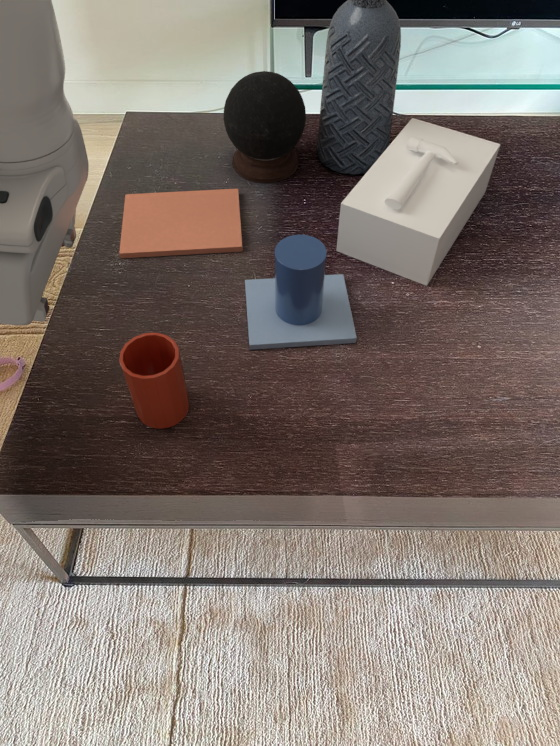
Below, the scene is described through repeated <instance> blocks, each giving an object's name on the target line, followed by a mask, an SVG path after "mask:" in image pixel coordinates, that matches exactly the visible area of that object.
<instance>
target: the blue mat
mask: <svg viewBox="0 0 560 746" xmlns="http://www.w3.org/2000/svg"><path fill="white" fill-rule="evenodd" d="M244 289H245V303H246V304H245V305H246V317H247V329H248V345H249V350H250V351H253V350H254V351H255V350H269V349H284V348H285V349H286V348H296V347H297V348H298V347H315V346H328V345H329V346H331V345H343V344H344V345H345V344H356V343H357V341H358V336H357V333H356V328H355V324H354V318H353V314H352V309H351V305H350V300H349V294H348V290H347V285H346V280H345V275H344V273H338V274H325V281H324V293H323V306H322V313H321V315H320V316H319V318H318V319H316V320H315V321H314V322H312V323H309V324H306V325H292V324H289V323H286V322H284V321H283V320H281V319H280V318H279V317H278V315H277V314H276V311H275V277H273V278H270V277H269V278H254V279H244Z"/></svg>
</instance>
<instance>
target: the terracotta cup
mask: <svg viewBox="0 0 560 746" xmlns="http://www.w3.org/2000/svg"><path fill="white" fill-rule="evenodd" d="M118 362H119V366H120V369H121V371H122V374H123V377H124V380H125V383H126V387H127V389H128V392H129V396H130V399H131V402H132V405H133V408H134V410H135V412H136V415H137V418H138V419H139V421H140V422H141V423H142V424H143V425H145V426H146V427H149V428H152V429H157V430H158V429H159V430H161V429H168V428H171V427H174V426H176V425H178V424H179V423H180V422H182V421H183V420H184V419H185V417H186V416H187V414H188V412H189V410H190V396H189V392H188V387H187V381H186V376H185V371H184V368H183V362H182V357H181V352H180V348H179V346H178V344H177V343H176V340H174V339H173V338H171V337H170V336H169V335H167V334H164V333H160V332H145V333H141V334H139V335H136V336H133V337H132V338H130V339H129V340H128V341H127V342H126V343H125V344H123V347H122V349H121V350H120V352H119V359H118Z"/></svg>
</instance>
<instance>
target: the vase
mask: <svg viewBox="0 0 560 746" xmlns="http://www.w3.org/2000/svg"><path fill="white" fill-rule="evenodd" d="M401 48H402V27H401V23H400V18H399V16H398V14H397V12H396V10H395V9H394V7H393V6H392V5H391V4H390V3H389V1H388V0H346V1H345V2H343V3H342V4H341V5H340V6H339V7H338V8H337V10H336V11H335V13H334V14H333V15H332V19H331V21H330V23H329V27H328V31H327V37H326V43H325V55H324V65H323V75H322V88H321V96H320V98H321V99H320V108H319V121H318V131H317V140H316V141H317V142H316V145H317V146H316V152H317V157H318V159H319V161H320V162H321V163H322V165H324V166H325V167H326V168H328V169H330V170H332V171H334V172H337V173H340V174H345V175H363V174H364V175H365V174H366V173H367V171H368V170H369V169H370V168H371V167H372V165H373V164H374V163H375V162H376V161H377V159H378V158H379V157H380V156H381V155H382V154H383V152H384V151H385V150H386V149H387V148H388V146H389V145H390V144H391V143H390V142H391V133H392V124H393V118H394V117H393V116H394V107H395V98H396V92H397V91H396V89H397V83H398V82H397V81H398V72H399V64H400V56H401Z"/></svg>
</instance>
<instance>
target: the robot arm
mask: <svg viewBox="0 0 560 746" xmlns="http://www.w3.org/2000/svg"><path fill="white" fill-rule="evenodd" d="M56 16H57V15H56V13H55V8H54V4H53V0H0V324H2V325H7V326H28V325H31V324H32V323H33V322H41V323H43V322H45V321H46V319H47V316H48V314H49V311H50V308H51V307H50V305H49V301H48V298H47V297H44V296H43V295H44V292H45V291H46V287H47V284H48V282H49V280H50V277H51V274H52V272H53V269H54V267H55V264H56V262H57V260H58V256H59V254H60V251H61V248H63V247H65V248H68V249H71V248H73V247H74V243H75V241H76V238H77V232H76V214H77V213H76V212H77V207H78V204H79V202H80V199H81V196H82V194H83V192H84V188H85V186H86V184H87V181H88V178H89V169H90V168H89V167H90V165H89V164H90V163H89V158H88V152H87V148H86V144H85V139H84V136H83V132H82V128H81V125H80V123H79V121H78V120H77V118H75V115H74V112H73V109H72V106H71V105H70V103H69V101H68V99H67V97H66V95H65V89H64V84H65V78H66V63H65V62H66V61H65V56H64V50H63V45H62V40H61V34H60V30H59V26H58V21H57V17H56Z"/></svg>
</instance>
